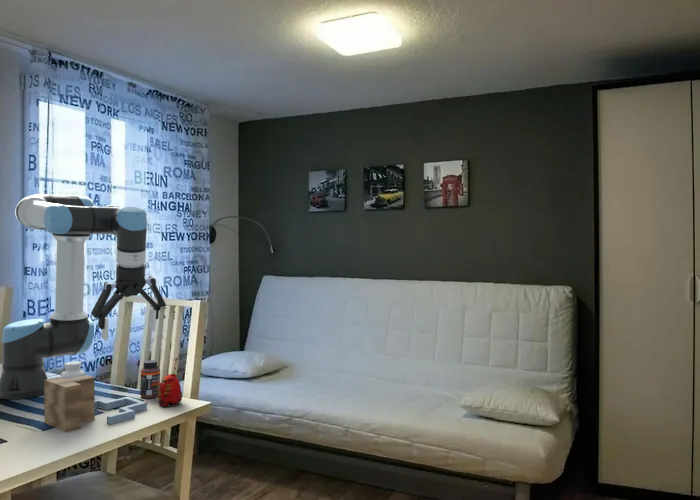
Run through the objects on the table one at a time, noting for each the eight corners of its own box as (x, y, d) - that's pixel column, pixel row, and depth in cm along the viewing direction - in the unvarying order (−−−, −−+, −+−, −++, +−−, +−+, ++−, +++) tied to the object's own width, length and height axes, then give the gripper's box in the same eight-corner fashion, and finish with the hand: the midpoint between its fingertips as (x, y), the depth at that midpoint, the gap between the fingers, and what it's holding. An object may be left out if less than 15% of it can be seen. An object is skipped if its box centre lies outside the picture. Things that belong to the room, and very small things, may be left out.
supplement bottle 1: (88, 404, 173) (88, 362, 173) (65, 409, 169) (65, 366, 168) (79, 400, 178) (79, 359, 178) (57, 404, 173) (57, 362, 173)
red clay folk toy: (155, 402, 177) (156, 354, 176) (178, 399, 180) (179, 352, 180) (160, 409, 170) (160, 359, 170) (184, 406, 174) (184, 357, 173)
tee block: (44, 422, 157) (44, 379, 156) (80, 413, 165) (79, 372, 164) (66, 432, 150) (65, 387, 149) (102, 422, 158) (102, 379, 157)
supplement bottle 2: (153, 399, 180) (153, 363, 179) (136, 398, 181) (136, 362, 180) (163, 394, 185) (163, 359, 185) (146, 393, 187) (146, 358, 186)
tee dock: (76, 411, 167) (76, 404, 167) (120, 400, 178) (120, 394, 178) (109, 424, 156) (109, 417, 156) (154, 411, 167) (154, 405, 167)
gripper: (88, 273, 146) (88, 348, 152) (179, 263, 163) (176, 330, 169) (78, 264, 151) (78, 337, 157) (167, 255, 168) (164, 321, 174)
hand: (129, 334), depth 163 cm, fingers open, 13 cm apart
